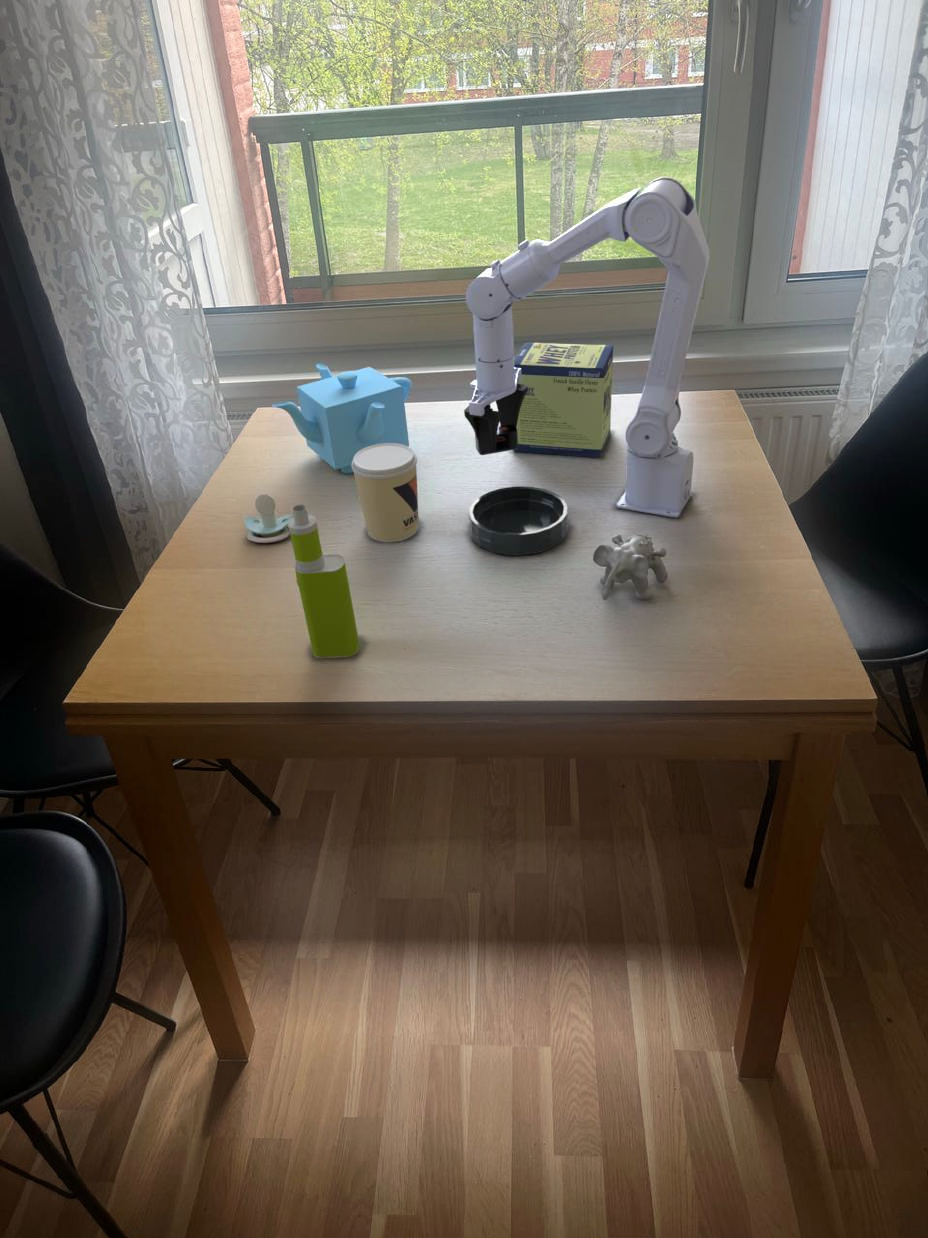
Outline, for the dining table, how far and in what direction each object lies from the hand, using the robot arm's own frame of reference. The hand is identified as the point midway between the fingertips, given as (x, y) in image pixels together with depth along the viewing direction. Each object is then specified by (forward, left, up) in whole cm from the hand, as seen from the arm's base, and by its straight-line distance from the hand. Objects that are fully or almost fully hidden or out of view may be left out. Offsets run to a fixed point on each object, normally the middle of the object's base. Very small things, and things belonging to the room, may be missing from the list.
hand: (498, 441), depth 140 cm
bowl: (-9, +13, -7) cm, 17 cm away
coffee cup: (+9, +19, -8) cm, 22 cm away
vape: (+1, +47, -8) cm, 47 cm away
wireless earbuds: (0, 0, -1) cm, 1 cm away
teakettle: (+28, 0, -8) cm, 29 cm away
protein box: (-4, -17, -8) cm, 19 cm away
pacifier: (+26, +27, -8) cm, 38 cm away
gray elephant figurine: (-29, +23, -8) cm, 37 cm away
